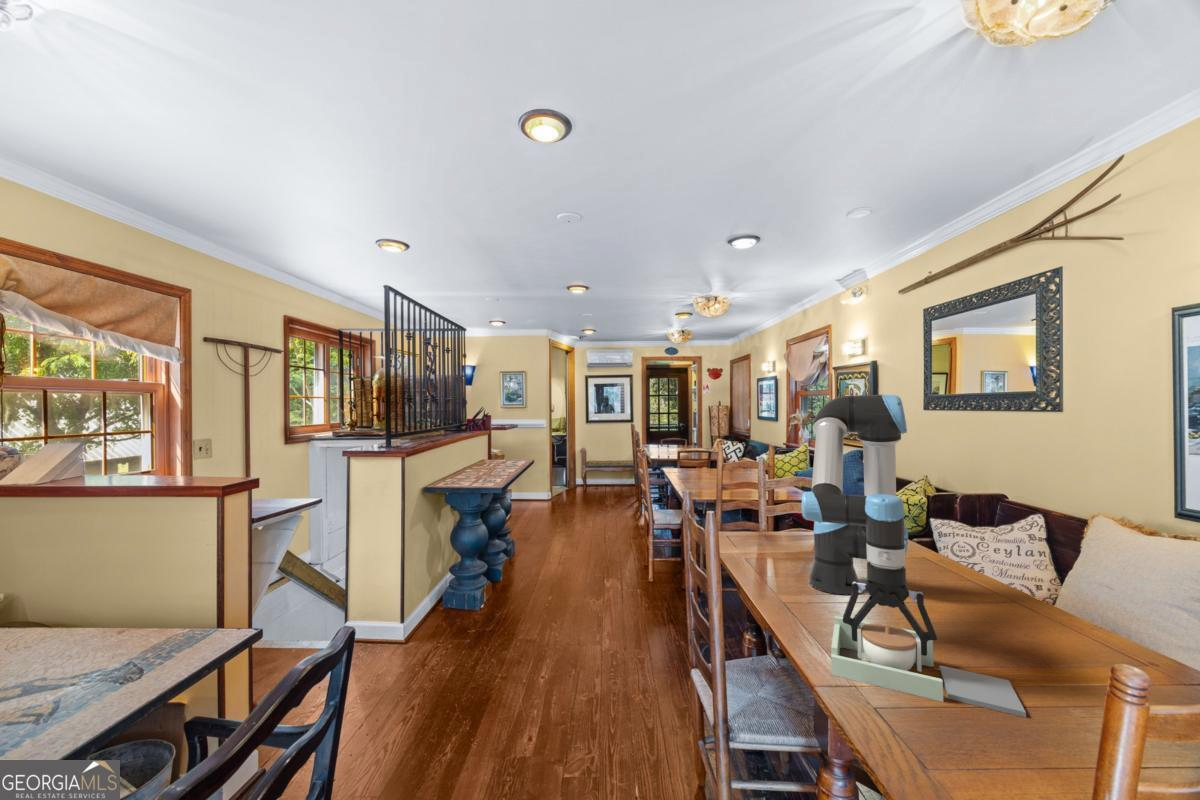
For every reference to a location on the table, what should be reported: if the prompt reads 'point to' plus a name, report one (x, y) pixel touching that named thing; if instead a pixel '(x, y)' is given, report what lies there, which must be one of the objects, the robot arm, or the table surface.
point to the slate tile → (981, 691)
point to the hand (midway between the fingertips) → (888, 661)
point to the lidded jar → (889, 646)
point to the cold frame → (881, 667)
